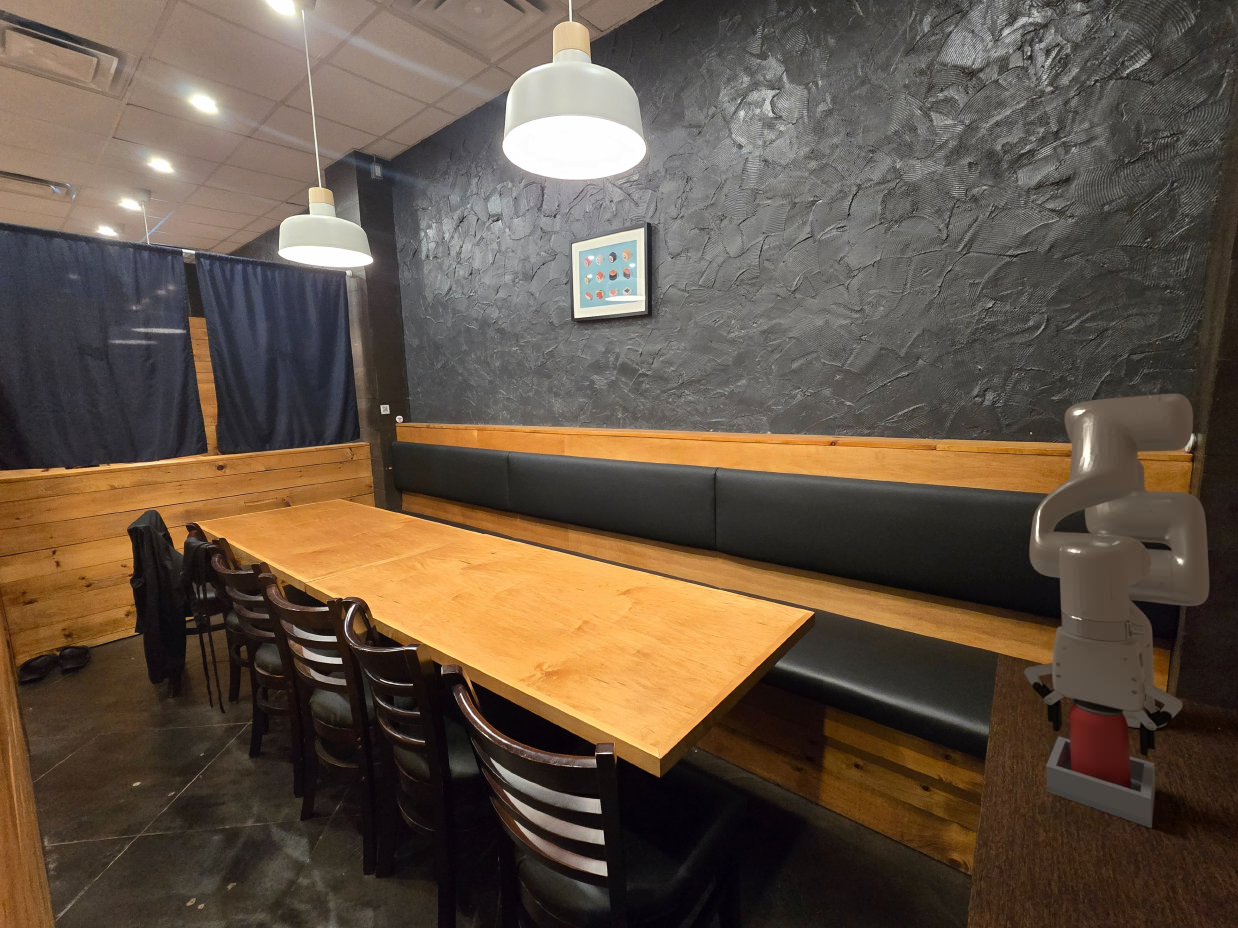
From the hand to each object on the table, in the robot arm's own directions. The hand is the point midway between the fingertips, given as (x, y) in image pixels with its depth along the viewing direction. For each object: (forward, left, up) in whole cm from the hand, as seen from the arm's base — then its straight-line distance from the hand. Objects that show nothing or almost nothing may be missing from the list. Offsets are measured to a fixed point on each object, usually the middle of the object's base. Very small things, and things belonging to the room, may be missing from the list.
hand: (1099, 739), depth 78 cm
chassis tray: (0, 0, -8) cm, 8 cm away
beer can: (0, 0, -7) cm, 7 cm away
